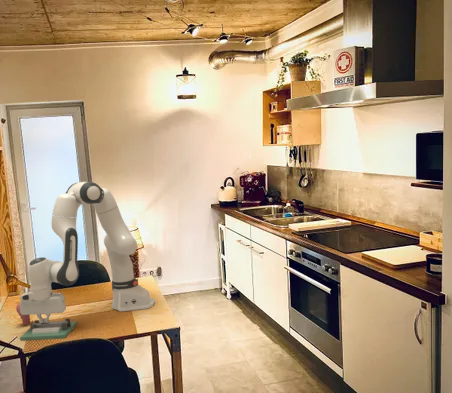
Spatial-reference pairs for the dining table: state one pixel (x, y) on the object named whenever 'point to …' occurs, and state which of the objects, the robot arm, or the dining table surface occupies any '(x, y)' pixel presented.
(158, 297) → the dining table surface
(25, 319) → the light bulb
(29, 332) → the heat sink board
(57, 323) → the steel strap
